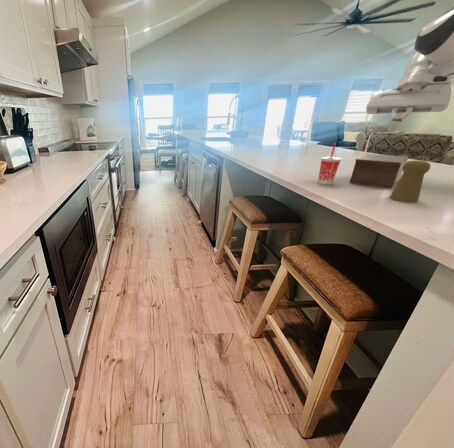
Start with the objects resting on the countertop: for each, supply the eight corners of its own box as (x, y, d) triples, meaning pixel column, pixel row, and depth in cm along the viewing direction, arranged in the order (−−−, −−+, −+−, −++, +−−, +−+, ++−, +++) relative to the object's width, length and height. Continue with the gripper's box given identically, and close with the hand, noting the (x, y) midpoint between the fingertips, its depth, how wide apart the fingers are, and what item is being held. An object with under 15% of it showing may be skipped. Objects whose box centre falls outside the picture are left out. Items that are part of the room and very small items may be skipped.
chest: (391, 188, 80) (400, 164, 77) (349, 182, 88) (355, 161, 85) (399, 180, 88) (407, 159, 84) (359, 176, 96) (365, 156, 93)
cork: (399, 202, 68) (414, 163, 64) (384, 195, 74) (397, 159, 69) (424, 202, 67) (441, 162, 63) (407, 196, 73) (422, 159, 68)
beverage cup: (331, 180, 91) (341, 142, 86) (337, 185, 86) (349, 144, 80) (313, 180, 93) (321, 142, 87) (318, 184, 88) (328, 144, 82)
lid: (400, 165, 76) (401, 162, 76) (355, 161, 84) (355, 159, 84) (407, 158, 84) (408, 156, 84) (365, 155, 93) (366, 153, 92)
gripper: (374, 84, 88) (359, 114, 86) (460, 76, 73) (444, 112, 72) (373, 98, 92) (358, 127, 91) (454, 92, 78) (439, 127, 76)
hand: (397, 120), depth 81 cm, fingers closed
